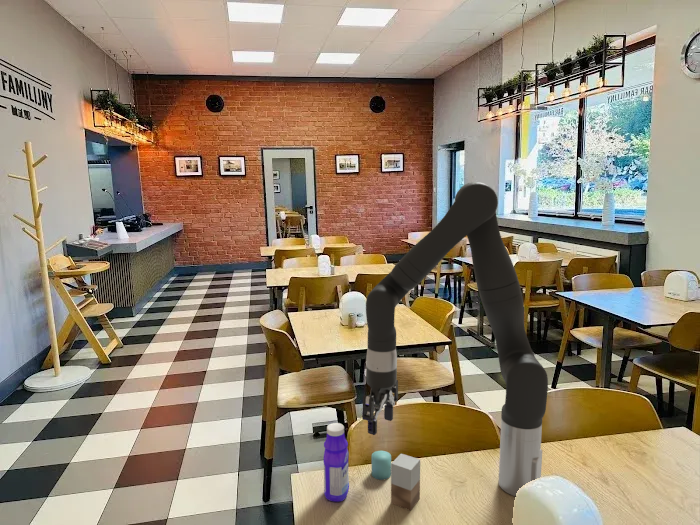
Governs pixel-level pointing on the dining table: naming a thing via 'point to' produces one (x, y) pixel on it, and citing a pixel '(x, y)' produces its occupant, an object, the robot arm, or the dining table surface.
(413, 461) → the mid block
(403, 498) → the base block
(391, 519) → the dining table surface
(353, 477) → the dining table surface
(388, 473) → the teal rounded cylinder
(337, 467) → the bottle
